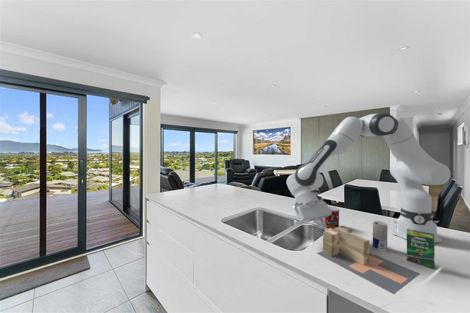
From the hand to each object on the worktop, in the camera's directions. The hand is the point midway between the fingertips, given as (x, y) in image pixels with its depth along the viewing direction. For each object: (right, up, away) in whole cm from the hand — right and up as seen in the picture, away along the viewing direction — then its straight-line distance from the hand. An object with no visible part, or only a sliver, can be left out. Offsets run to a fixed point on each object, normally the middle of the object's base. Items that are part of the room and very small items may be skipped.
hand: (323, 227), depth 93 cm
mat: (+9, -9, -15) cm, 20 cm away
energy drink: (+24, -9, -4) cm, 25 cm away
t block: (+6, -8, -10) cm, 14 cm away
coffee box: (+30, -9, -16) cm, 36 cm away
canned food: (+15, -8, +22) cm, 28 cm away
